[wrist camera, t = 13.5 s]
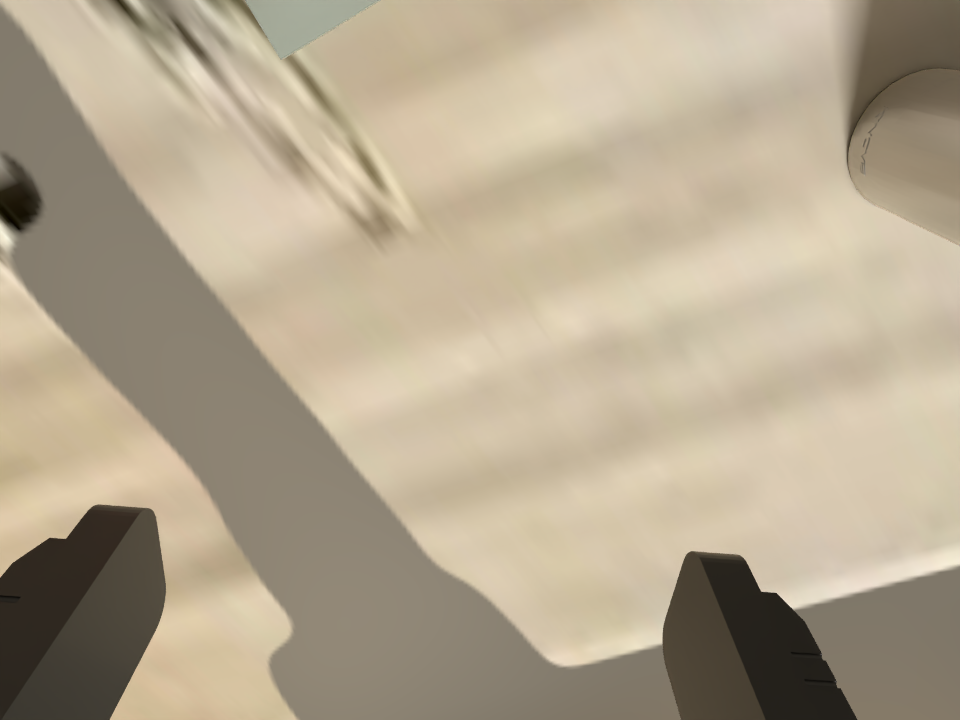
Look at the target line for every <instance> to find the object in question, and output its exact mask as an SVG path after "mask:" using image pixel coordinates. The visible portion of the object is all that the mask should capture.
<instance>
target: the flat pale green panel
mask: <svg viewBox="0 0 960 720" xmlns="http://www.w3.org/2000/svg"><path fill="white" fill-rule="evenodd" d="M245 1H246V3H247V4H248V6H249V8H250V9H251V11H252V13H253V14H254V16H255V18H256V19H257V21H258V23H259V24H260V26H261V28H262V29H263V31H264V33H265V34H266V36H267V38H268V39H269V41H270V43H271V44H272V46H273V48H274V49H275V51H276V53H277V54H278V56H279V58H280V59H281V60H282V59H285V58H286V57H288V56H290V55H291V54H293V53H294V52H296V51H298V50H299V49H301V48H303V47H304V46H306V45H308V44H309V43H311V42H313V41H314V40H316V39H318V38H319V37H321V36H323V35H324V34H326V33H328V32H329V31H331V30H332V29H334V28H336V27H337V26H339V25H341V24H342V23H344V22H346V21H347V20H349V19H351V18H352V17H354V16H356V15H357V14H359V13H361V12H362V11H364V10H366V9H367V8H369V7H370V6H372V5H374V4H375V3H377V2H379V1H380V0H245Z"/></svg>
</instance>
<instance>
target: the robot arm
mask: <svg viewBox="0 0 960 720" xmlns="http://www.w3.org/2000/svg"><path fill="white" fill-rule="evenodd" d="M848 166H849V171H850V176H851V179H852V181H853V183H854V185H855V187H856V189H857V190H858V192H859V193H860V194H861V195H862V196H863V197H864V198H865V199H866V200H868V201H869V202H871V203H873V204H874V205H876V206H878V207H880V208H882V209H884V210H886V211H888V212H891V213H893V214H895V215H897V216H899V217H901V218H903V219H905V220H906V221H909V222H911V223H913V224H915V225H917V226H919V227H921V228H923V229H925V230H927V231H929V232H932V233H934V234H936V235H938V236H940V237H942V238H944V239H946V240H948V241H950V242H952V243H955V244H957V245H959V246H960V70H952V69H942V68H935V69H927V70H921V71H918V72H915V73H912V74H909V75H907V76H905V77H903V78H901V79H900V80H898V81H896V82H894V83H892V84H891V85H890V86H889V87H887V88H886V89H885V90H884V91H882V92H881V93H880V94H879V95H878V96H877V97H876V98H875V99H874V100H873V101H872V103H871V104H870V105H869V106H868V107H867V108H866V110H865V112H864V113H863V115H862V116H861V118H860V119H859V121H858V123H857V125H856V128H855V130H854V132H853V135H852V138H851V142H850V147H849V151H848ZM165 594H166V583H165V576H164V569H163V562H162V555H161V548H160V541H159V534H158V527H157V521H156V516H155V514H154V512H153V510H151V509H149V508H137V507H124V506H111V505H95V506H93V507H92V508H90V509H89V510H88V511H87V513H86V514H85V515H84V516H83V518H82V519H81V520H80V522H79V523H78V524H77V525H76V527H75V528H74V529H73V531H72V532H71V533H70V534H69V536H68V537H67V538H66V539H58V538H49V539H47V540H46V541H44V542H43V543H41V544H40V545H38V546H37V547H36V548H34V549H33V550H31V551H30V552H28V553H27V554H25V555H24V556H22V557H21V558H19V559H18V560H16V561H15V562H13V563H12V564H11V566H10V567H9V568H8V569H7V570H6V572H5V573H4V574H3V575H2V576H1V577H0V720H110V718H111V716H112V714H113V712H114V710H115V708H116V706H117V704H118V702H119V700H120V698H121V696H122V694H123V693H124V691H125V689H126V687H127V685H128V683H129V681H130V679H131V677H132V675H133V673H134V671H135V669H136V667H137V665H138V664H139V662H140V660H141V658H142V656H143V654H144V652H145V650H146V648H147V646H148V644H149V642H150V640H151V638H152V636H153V635H154V633H155V631H156V629H157V626H158V624H159V621H160V618H161V615H162V612H163V608H164V603H165ZM663 653H664V660H665V665H666V669H667V672H668V676H669V679H670V682H671V686H672V689H673V692H674V696H675V700H676V703H677V706H678V710H679V714H680V717H681V720H857V718H856V716H855V714H854V713H853V711H852V709H851V707H850V705H849V704H848V701H847V700H846V698H845V696H844V694H843V692H842V690H841V689H840V688H837V686H836V682H837V681H836V679H835V677H834V675H833V674H832V672H831V670H830V668H829V666H828V664H827V662H826V661H824V660H822V653H821V651H820V649H819V648H818V646H817V644H816V642H815V640H814V638H813V637H812V634H811V633H810V631H809V629H808V627H807V625H806V623H805V622H804V621H803V619H801V618H800V616H798V615H797V613H796V612H795V611H794V610H793V609H792V608H791V607H790V606H789V605H788V604H787V603H786V602H785V601H784V600H783V599H782V598H781V597H780V596H779V595H778V594H777V593H769V592H761V591H760V589H759V587H758V585H757V582H756V580H755V578H754V576H753V574H752V572H751V570H750V568H749V566H748V564H747V562H746V561H745V559H744V558H743V557H741V556H740V555H734V554H720V553H707V552H694V551H691V552H689V553H688V554H687V555H686V557H685V559H684V561H683V564H682V567H681V571H680V574H679V577H678V580H677V583H676V586H675V590H674V593H673V596H672V599H671V602H670V606H669V609H668V612H667V615H666V618H665V622H664V627H663Z"/></svg>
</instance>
